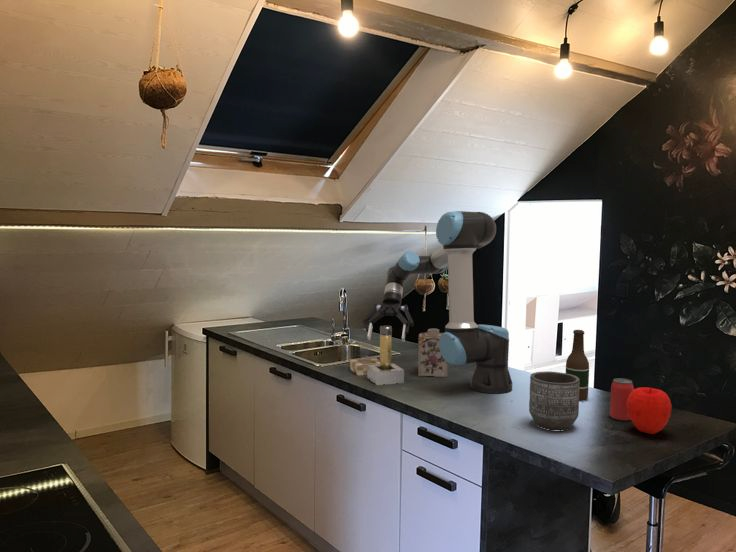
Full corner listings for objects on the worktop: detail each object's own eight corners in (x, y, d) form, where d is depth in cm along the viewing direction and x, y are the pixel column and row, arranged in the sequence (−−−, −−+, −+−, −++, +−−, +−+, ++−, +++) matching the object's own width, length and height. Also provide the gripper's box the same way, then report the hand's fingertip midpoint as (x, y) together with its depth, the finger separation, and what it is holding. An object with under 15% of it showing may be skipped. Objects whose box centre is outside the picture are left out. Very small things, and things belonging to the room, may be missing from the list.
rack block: (383, 373, 240) (384, 363, 239) (357, 375, 236) (357, 365, 236) (375, 367, 250) (375, 357, 250) (350, 369, 247) (350, 359, 246)
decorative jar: (446, 370, 246) (447, 327, 244) (447, 377, 234) (448, 332, 233) (417, 369, 247) (418, 326, 246) (417, 376, 236) (418, 331, 234)
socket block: (403, 383, 226) (404, 370, 225) (376, 385, 222) (376, 372, 222) (393, 375, 236) (393, 363, 236) (367, 377, 233) (367, 365, 232)
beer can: (613, 413, 191) (615, 376, 190) (635, 417, 187) (636, 380, 186) (606, 418, 186) (608, 380, 185) (628, 422, 182) (630, 384, 181)
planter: (519, 425, 179) (521, 376, 178) (543, 415, 189) (545, 368, 188) (563, 437, 169) (565, 386, 168) (586, 426, 179) (588, 377, 178)
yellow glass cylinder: (392, 381, 228) (393, 327, 226) (381, 382, 226) (382, 327, 225) (388, 378, 232) (389, 325, 230) (377, 379, 231) (378, 325, 229)
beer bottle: (573, 402, 203) (575, 332, 201) (559, 395, 210) (562, 328, 208) (592, 400, 205) (595, 331, 203) (579, 394, 212) (581, 327, 210)
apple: (627, 437, 170) (629, 391, 169) (622, 423, 181) (625, 380, 180) (673, 441, 167) (675, 395, 165) (665, 428, 178) (668, 384, 177)
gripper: (423, 303, 246) (418, 346, 232) (364, 300, 251) (356, 342, 238) (422, 291, 240) (416, 335, 227) (361, 289, 245) (353, 332, 232)
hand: (385, 339), depth 232 cm, fingers open, 13 cm apart
